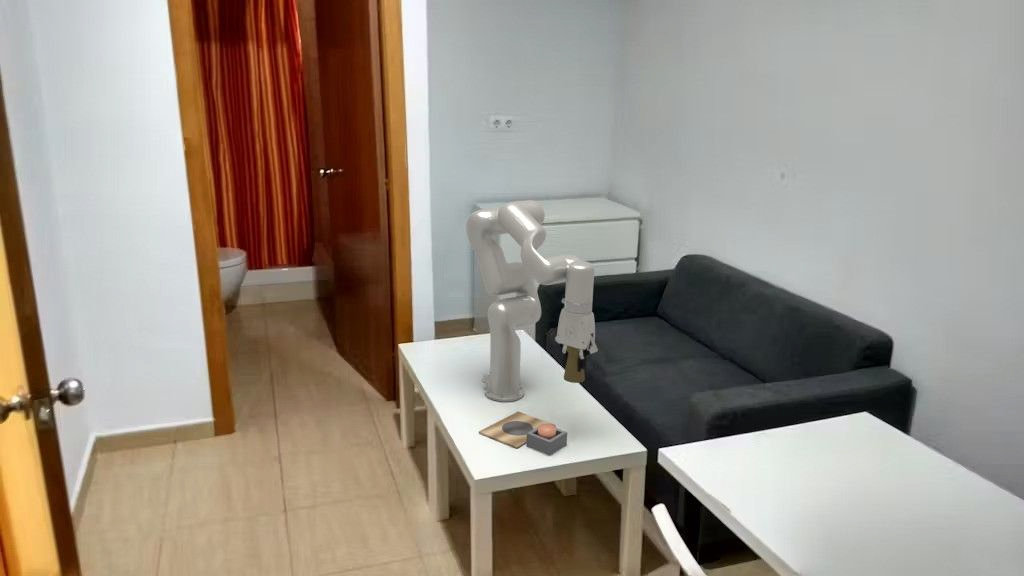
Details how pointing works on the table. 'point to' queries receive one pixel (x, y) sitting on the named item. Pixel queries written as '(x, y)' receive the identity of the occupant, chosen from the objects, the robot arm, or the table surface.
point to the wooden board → (513, 429)
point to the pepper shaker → (573, 366)
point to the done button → (547, 431)
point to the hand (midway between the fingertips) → (574, 367)
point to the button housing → (546, 441)
